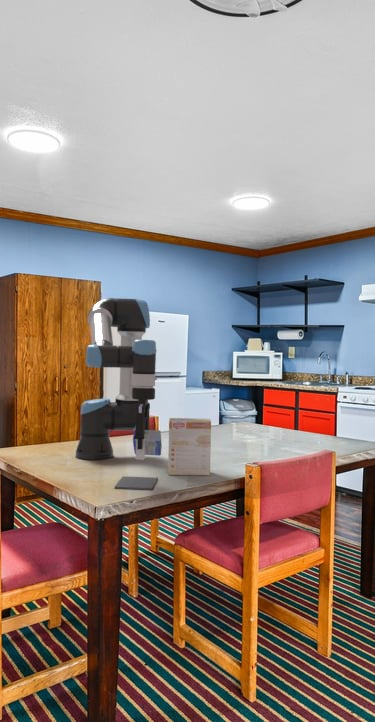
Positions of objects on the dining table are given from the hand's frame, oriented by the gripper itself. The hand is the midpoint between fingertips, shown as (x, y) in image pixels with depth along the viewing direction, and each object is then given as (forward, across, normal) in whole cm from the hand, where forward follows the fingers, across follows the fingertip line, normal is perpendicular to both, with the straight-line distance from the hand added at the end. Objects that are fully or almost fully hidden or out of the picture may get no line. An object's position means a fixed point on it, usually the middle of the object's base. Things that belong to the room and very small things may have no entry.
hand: (142, 456), depth 172 cm
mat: (+9, 0, +2) cm, 9 cm away
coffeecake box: (+9, +18, -14) cm, 25 cm away
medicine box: (-5, 0, -6) cm, 8 cm away
